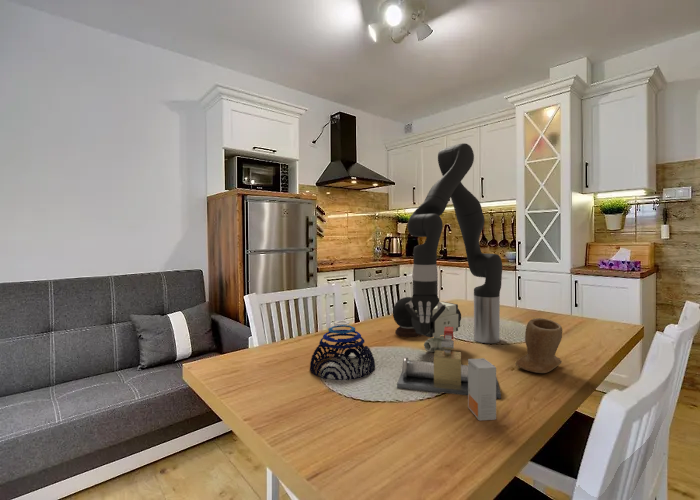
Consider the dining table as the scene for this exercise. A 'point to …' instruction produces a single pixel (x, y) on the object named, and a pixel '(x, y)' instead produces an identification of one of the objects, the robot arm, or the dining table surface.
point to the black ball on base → (404, 319)
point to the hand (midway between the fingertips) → (425, 334)
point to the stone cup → (541, 346)
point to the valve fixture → (438, 374)
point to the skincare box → (482, 389)
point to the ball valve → (439, 325)
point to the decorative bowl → (335, 354)
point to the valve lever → (448, 339)
